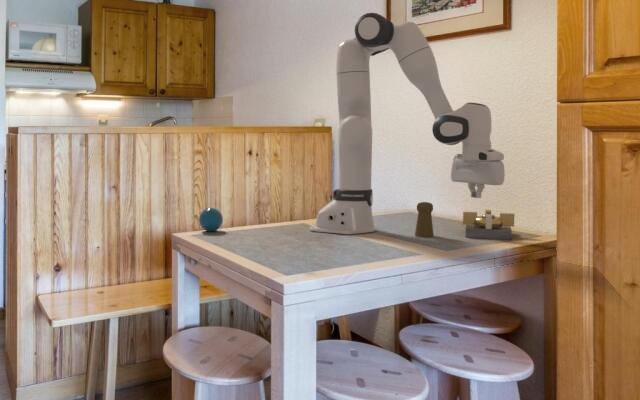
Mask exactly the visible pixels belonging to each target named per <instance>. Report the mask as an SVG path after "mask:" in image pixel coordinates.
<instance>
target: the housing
mask: <svg viewBox="0 0 640 400" xmlns="http://www.w3.org/2000/svg"><path fill="white" fill-rule="evenodd" d="M512 232H513V231H512V226H501V227H492V229H486V228H485V227H481V226H476V225H466V224H465V236H464V237H465V238H466V239H467V238H468V239H488V240H503V241H505V240H506V241H507V240H508V241H512V235H513V234H512Z"/></svg>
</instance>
